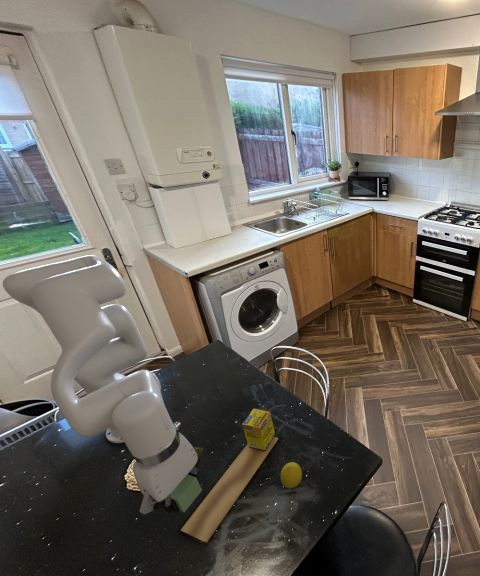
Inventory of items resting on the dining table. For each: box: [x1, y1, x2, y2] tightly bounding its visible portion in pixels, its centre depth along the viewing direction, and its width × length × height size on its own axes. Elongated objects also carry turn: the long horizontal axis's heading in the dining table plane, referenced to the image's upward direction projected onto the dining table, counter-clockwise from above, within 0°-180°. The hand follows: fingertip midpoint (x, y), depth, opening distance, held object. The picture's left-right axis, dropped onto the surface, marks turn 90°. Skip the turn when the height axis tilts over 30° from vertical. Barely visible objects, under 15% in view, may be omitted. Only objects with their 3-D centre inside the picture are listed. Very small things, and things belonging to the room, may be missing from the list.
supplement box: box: [241, 408, 276, 451], centre depth 94 cm, size 6×6×11 cm
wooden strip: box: [180, 436, 280, 544], centre depth 87 cm, size 8×29×1 cm, turn 162°
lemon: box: [280, 461, 303, 489], centre depth 84 cm, size 6×6×8 cm
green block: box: [171, 474, 203, 513], centre depth 70 cm, size 5×5×5 cm
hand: (184, 495), depth 71 cm, fingers closed on green block, 5 cm apart
